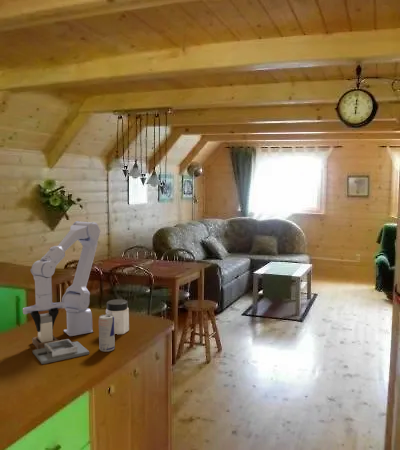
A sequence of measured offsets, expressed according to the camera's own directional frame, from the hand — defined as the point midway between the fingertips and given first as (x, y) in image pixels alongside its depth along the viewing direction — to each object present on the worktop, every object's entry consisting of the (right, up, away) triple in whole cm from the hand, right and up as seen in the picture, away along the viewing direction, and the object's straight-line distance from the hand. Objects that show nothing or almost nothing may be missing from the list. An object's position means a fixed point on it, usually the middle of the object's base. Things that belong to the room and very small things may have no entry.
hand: (45, 329), depth 170 cm
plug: (0, -4, 0) cm, 4 cm away
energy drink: (+23, -6, -4) cm, 25 cm away
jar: (+24, -4, +15) cm, 29 cm away
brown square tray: (0, -5, +1) cm, 5 cm away
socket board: (+8, -6, -8) cm, 13 cm away
